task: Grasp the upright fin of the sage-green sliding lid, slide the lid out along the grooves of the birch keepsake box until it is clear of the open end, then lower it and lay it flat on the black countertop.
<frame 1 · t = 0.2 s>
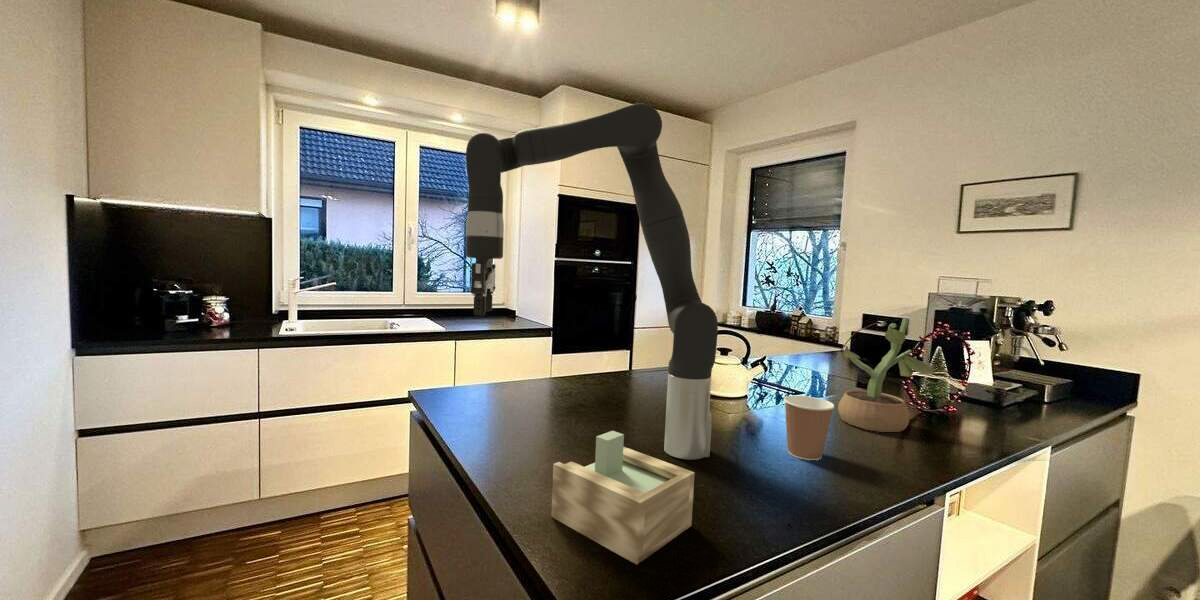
hand: (483, 313, 100), 29 cm above the worktop, fingers open, 8 cm apart
box: (620, 521, 75), on the worktop
potted plant: (878, 428, 128), on the worktop
coffee cup: (804, 455, 107), on the worktop
lid: (622, 484, 75), point 6 cm above the worktop, touching box
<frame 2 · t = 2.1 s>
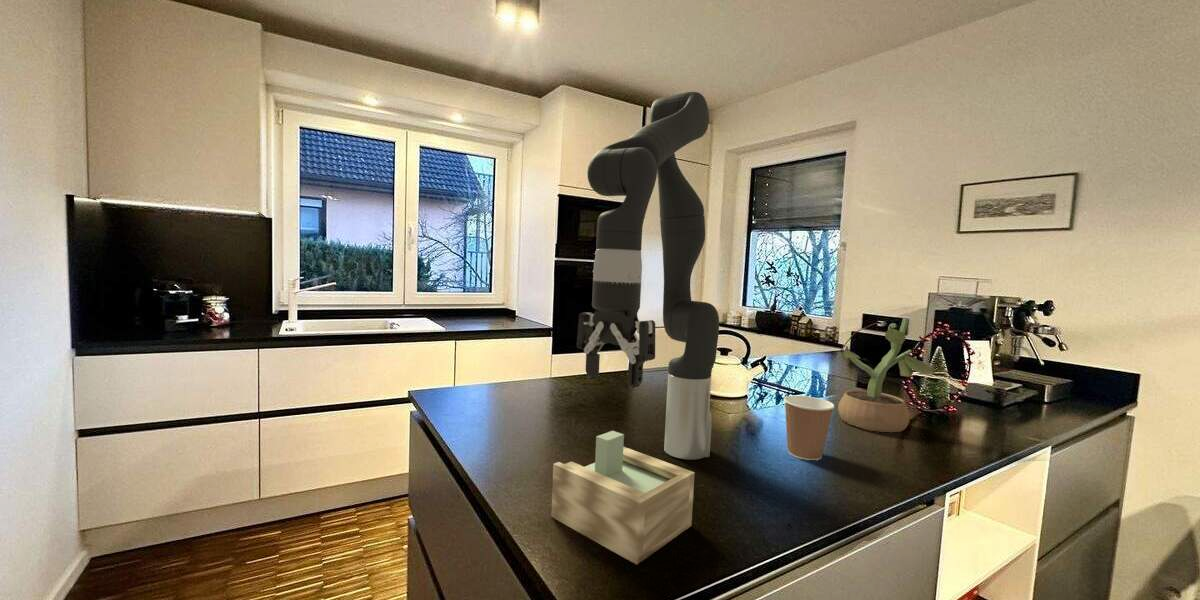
hand: (612, 381, 76), 22 cm above the worktop, fingers open, 8 cm apart
nothing on the worktop moved.
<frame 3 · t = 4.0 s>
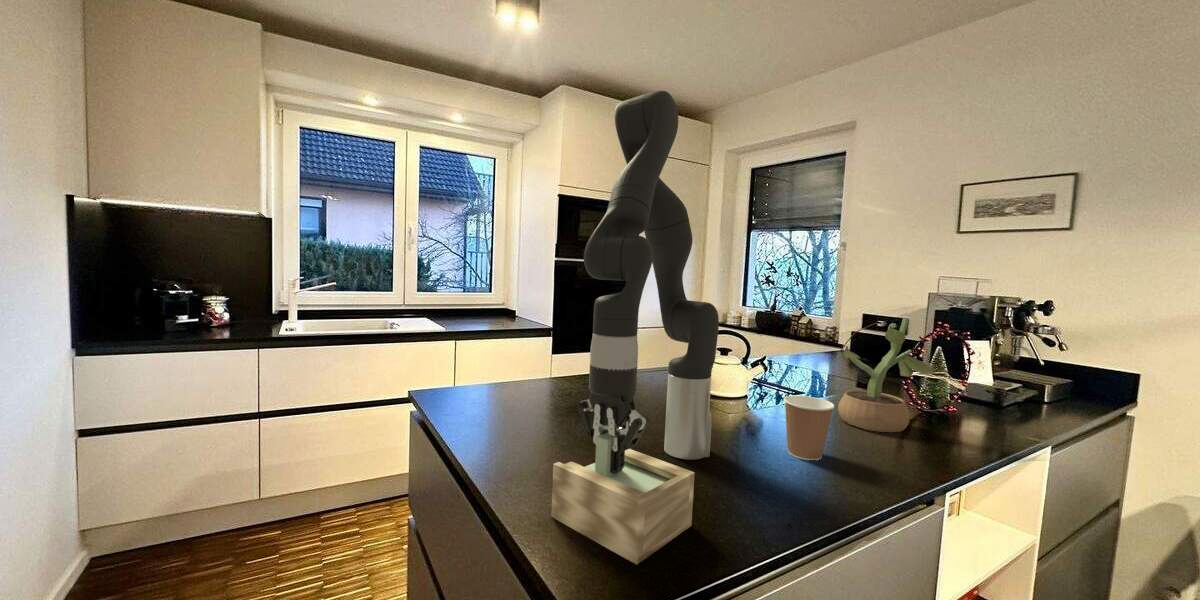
hand: (608, 468, 77), 8 cm above the worktop, fingers closed on lid, 2 cm apart
lid: (623, 484, 75), point 6 cm above the worktop, touching box, gripper
everything else where it was.
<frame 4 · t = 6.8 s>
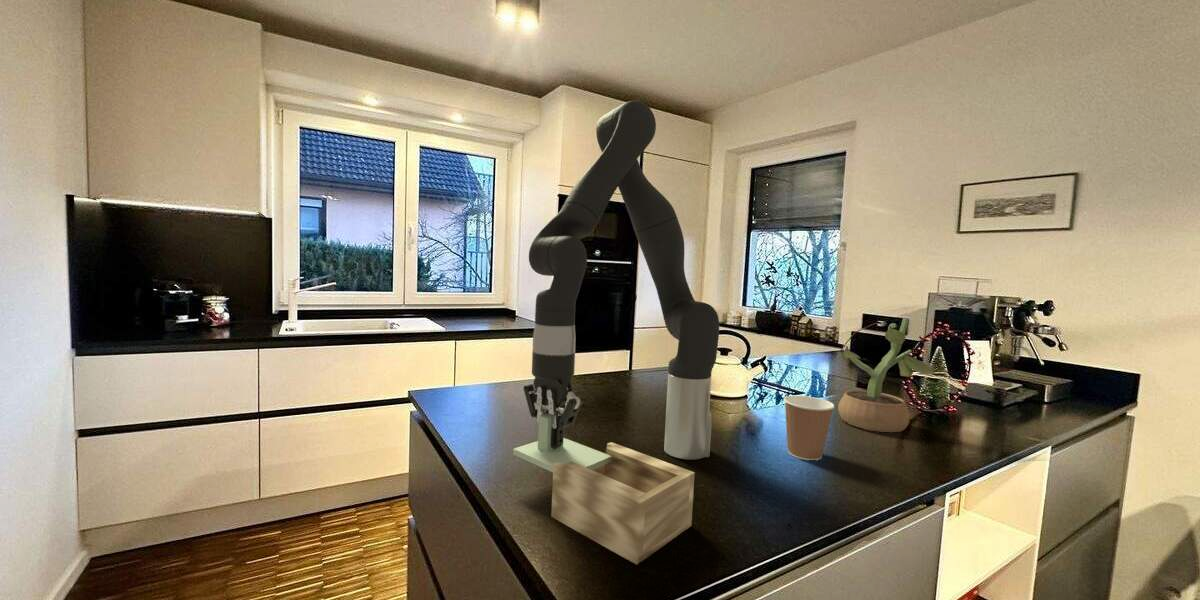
hand: (550, 444, 86), 8 cm above the worktop, fingers closed on lid, 2 cm apart
lid: (562, 458, 84), point 6 cm above the worktop, touching gripper
everything else where it was.
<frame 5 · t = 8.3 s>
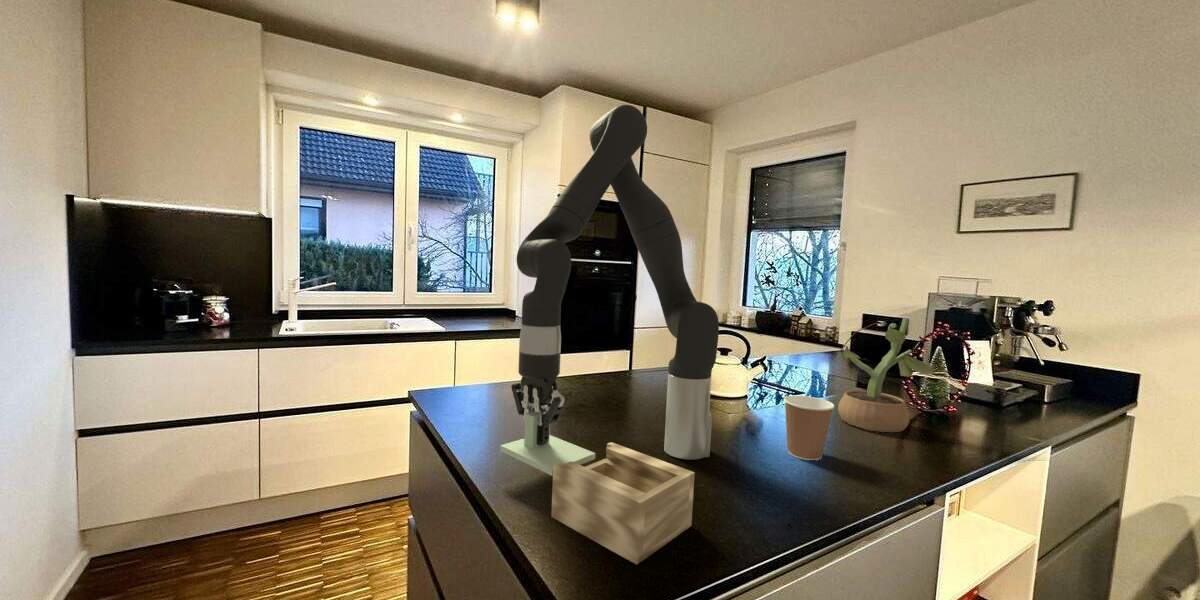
hand: (536, 441, 88), 7 cm above the worktop, fingers closed on lid, 2 cm apart
lid: (547, 454, 86), point 5 cm above the worktop, touching gripper
everything else where it was.
when the fingers open (3 cm above the worktop, at t = 9.5 s): lid drops 2 cm, on the worktop.
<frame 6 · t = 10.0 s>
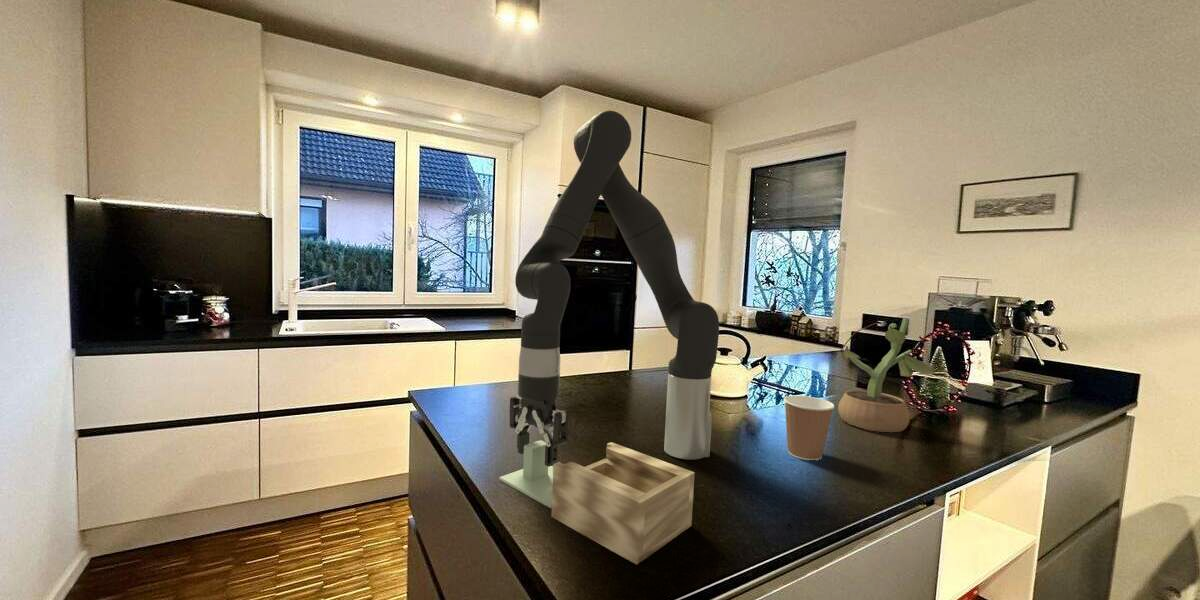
hand: (536, 458, 89), 4 cm above the worktop, fingers open, 7 cm apart
lid: (546, 486, 87), on the worktop
everything else where it was.
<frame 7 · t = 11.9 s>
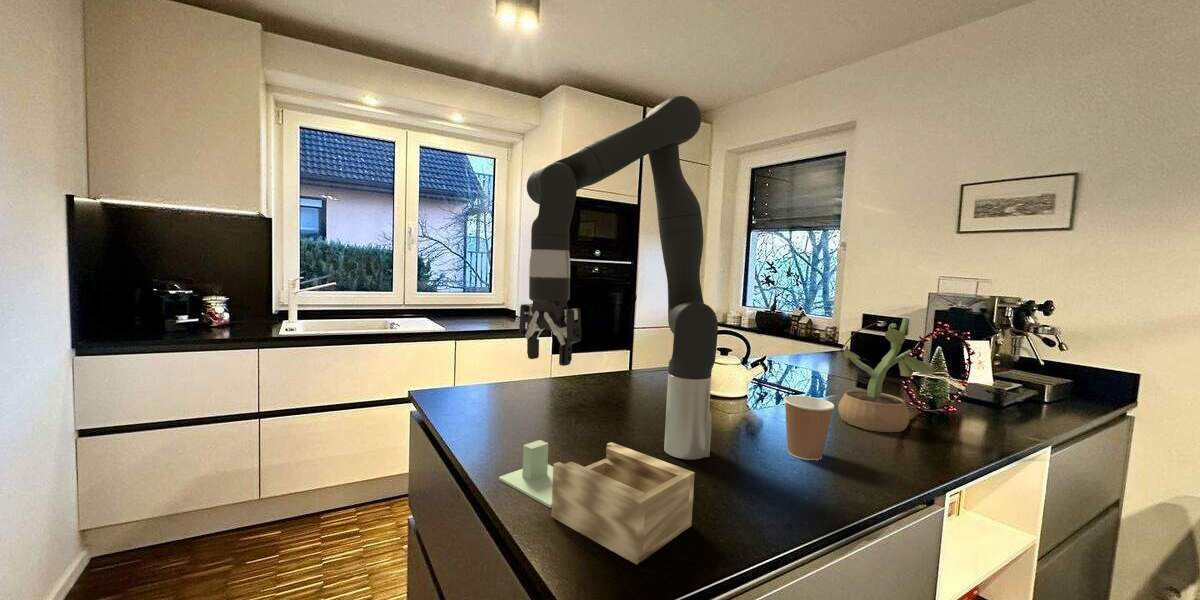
hand: (548, 361, 90), 22 cm above the worktop, fingers open, 8 cm apart
nothing on the worktop moved.
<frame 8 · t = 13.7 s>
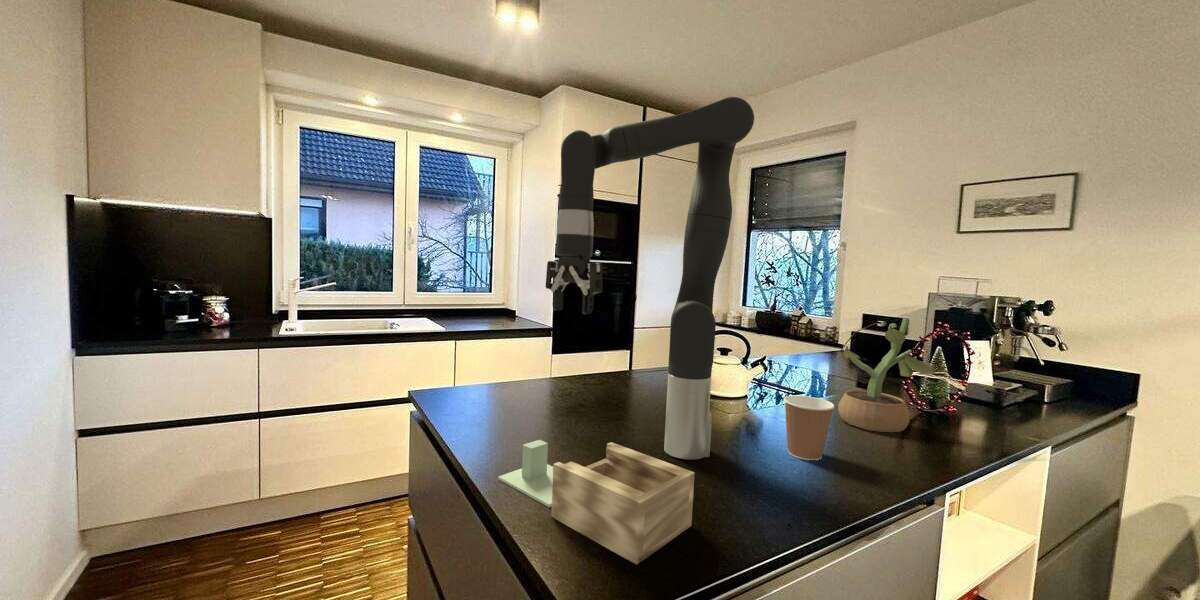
hand: (571, 312, 99), 30 cm above the worktop, fingers open, 8 cm apart
nothing on the worktop moved.
at the end: lid inside the target area (0.3 cm from its centre), on the worktop; lid tilted 0°; the gripper is holding nothing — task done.
